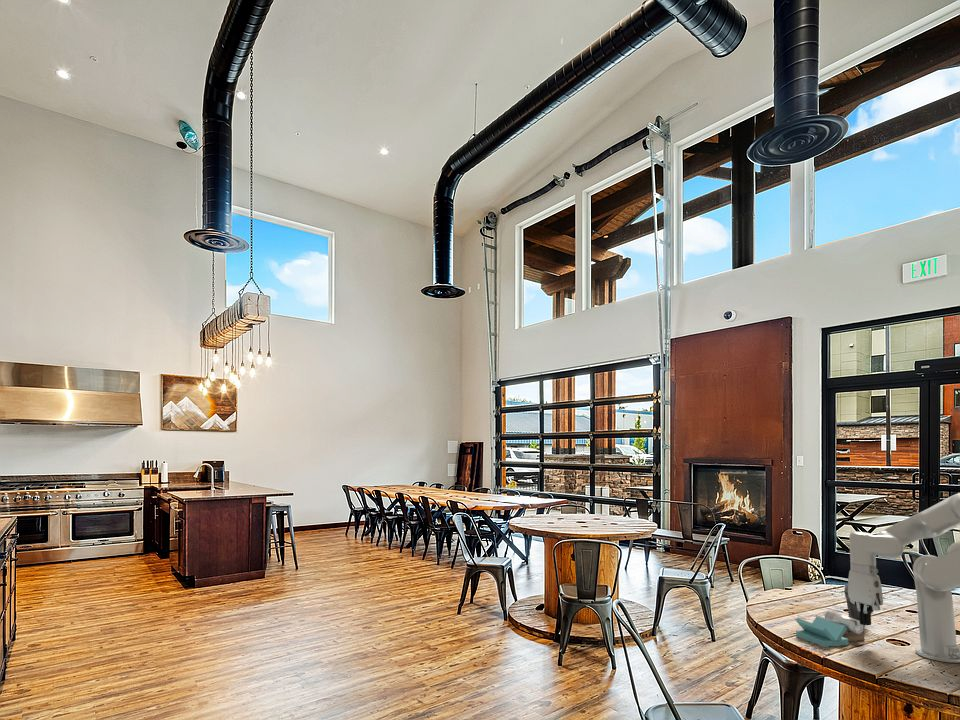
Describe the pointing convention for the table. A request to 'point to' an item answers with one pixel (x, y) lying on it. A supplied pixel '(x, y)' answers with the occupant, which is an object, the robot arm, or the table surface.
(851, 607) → the beverage cup
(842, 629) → the v block
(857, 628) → the axle
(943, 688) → the table surface
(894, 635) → the table surface
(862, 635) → the tan stepped block
